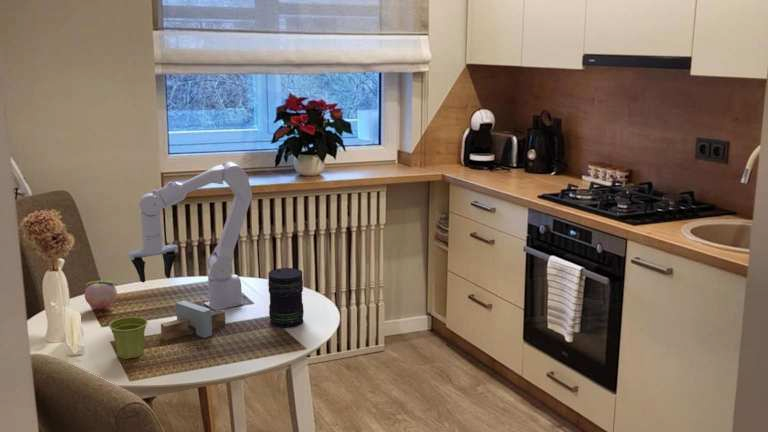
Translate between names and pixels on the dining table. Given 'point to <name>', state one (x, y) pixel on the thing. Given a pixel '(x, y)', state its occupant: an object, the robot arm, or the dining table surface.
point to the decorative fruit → (100, 293)
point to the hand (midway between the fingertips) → (155, 279)
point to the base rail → (182, 328)
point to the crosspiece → (195, 317)
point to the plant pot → (129, 336)
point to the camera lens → (285, 298)
